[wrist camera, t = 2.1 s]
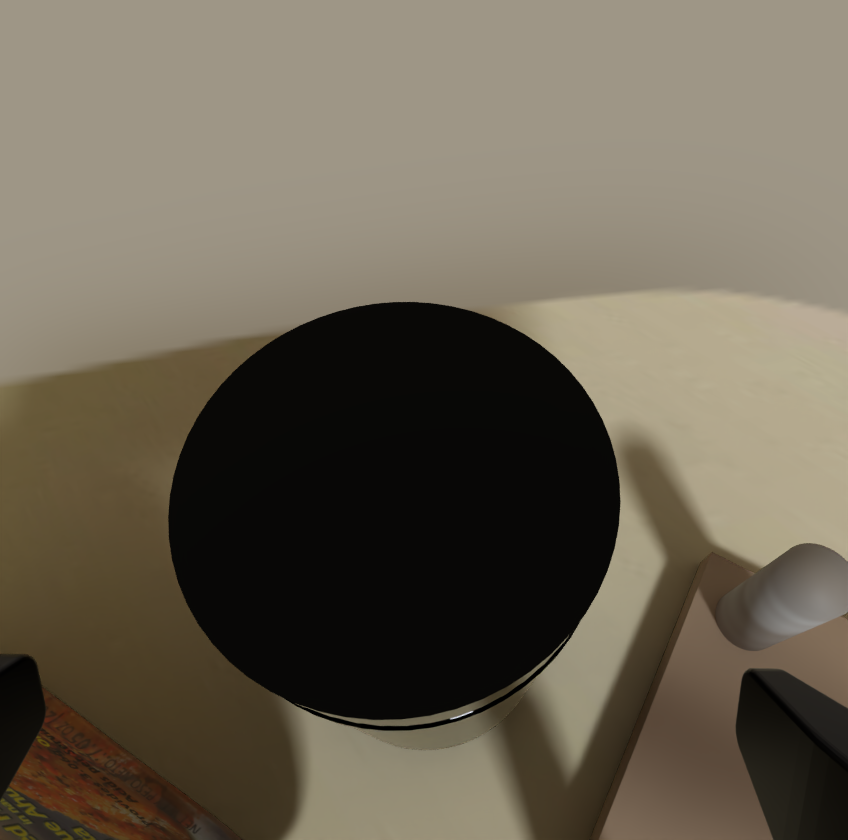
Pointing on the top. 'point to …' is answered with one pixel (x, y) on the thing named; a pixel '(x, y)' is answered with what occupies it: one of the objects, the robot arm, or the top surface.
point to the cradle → (725, 694)
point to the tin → (95, 791)
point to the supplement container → (396, 518)
